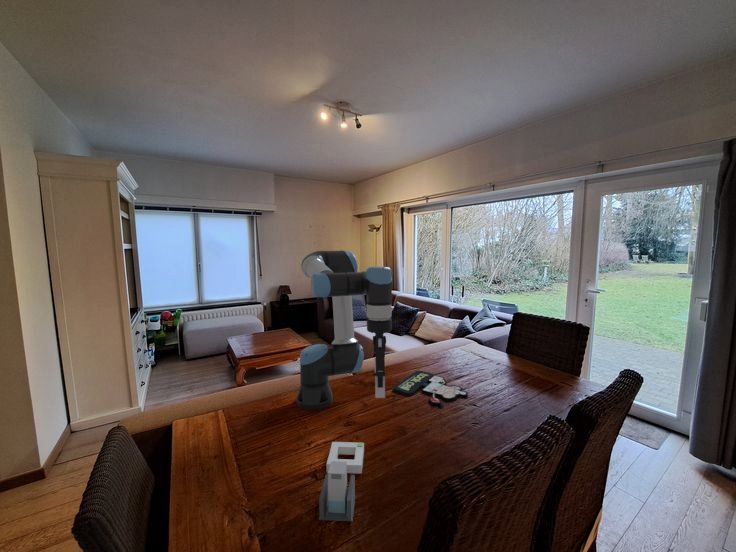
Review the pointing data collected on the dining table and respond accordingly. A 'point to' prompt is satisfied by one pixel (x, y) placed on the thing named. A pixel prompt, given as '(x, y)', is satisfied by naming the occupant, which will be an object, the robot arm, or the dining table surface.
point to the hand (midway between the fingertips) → (379, 386)
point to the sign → (429, 388)
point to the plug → (337, 487)
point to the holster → (349, 506)
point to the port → (349, 449)
